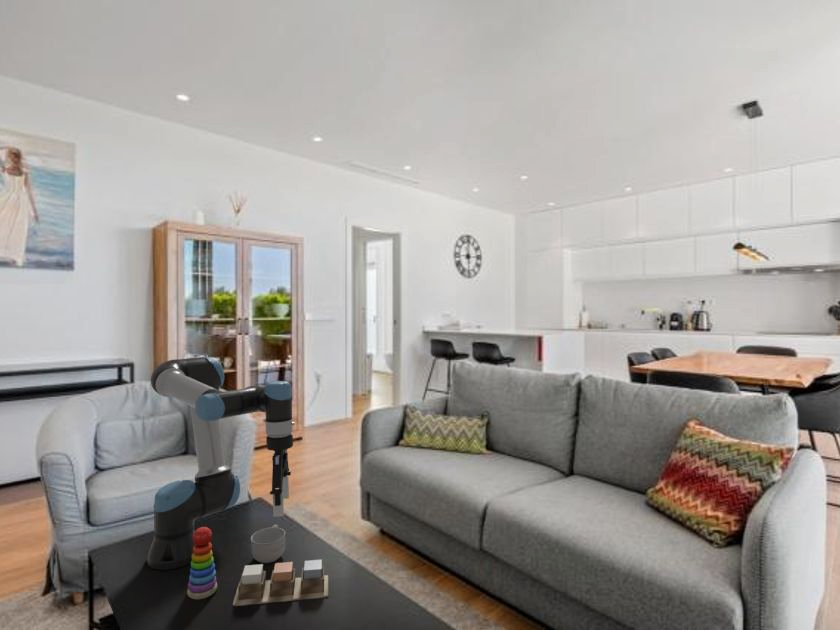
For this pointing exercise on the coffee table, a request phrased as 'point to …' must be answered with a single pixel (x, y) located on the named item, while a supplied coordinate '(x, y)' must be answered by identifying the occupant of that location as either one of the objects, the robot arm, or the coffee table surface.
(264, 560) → the teacup
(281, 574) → the button terracotta
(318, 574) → the button slate
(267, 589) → the button board
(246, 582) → the button cream
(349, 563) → the coffee table surface
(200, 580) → the stacking toy
